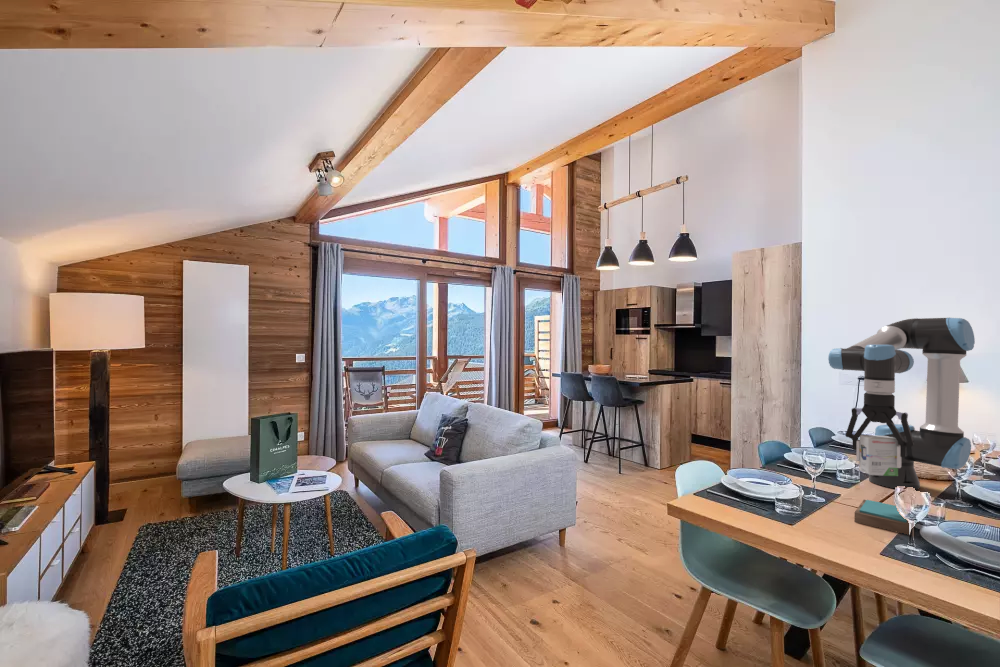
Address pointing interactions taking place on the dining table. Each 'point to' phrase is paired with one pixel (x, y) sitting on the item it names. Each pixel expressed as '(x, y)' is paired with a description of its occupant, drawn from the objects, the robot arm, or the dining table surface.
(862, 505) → the walnut tray
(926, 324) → the robot arm
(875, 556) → the dining table surface
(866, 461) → the ink box
